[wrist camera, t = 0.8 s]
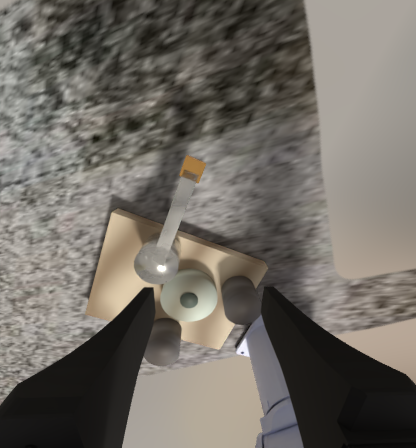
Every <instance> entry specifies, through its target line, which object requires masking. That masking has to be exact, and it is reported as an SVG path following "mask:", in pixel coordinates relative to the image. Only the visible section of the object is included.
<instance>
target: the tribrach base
mask: <svg viewBox="0 0 416 448" xmlns="http://www.w3.org/2000/svg"><path fill="white" fill-rule="evenodd" d="M163 227H164V225H163V224H160V223H157V222H154V221H152V220H149V219H146V218H143V217H141V216H138V215H135V214H132V213H130V212H127V211H124V210H121V209H119V208H117V209H116V210H114V211H113V212H112V213H111V217H110V221H109V225H108V229H107V232H106V236H105V240H104V244H103V248H102V251H101V255H100V259H99V263H98V267H97V271H96V274H95V278H94V282H93V286H92V290H91V293H90V297H89V301H88V305H87V309H86V313H85V314H86V315H89V316H93V317H97V318H101V319H104V320H108V321H112V320H113V319H114V318H115V317H116V316H117V315H118V314H119V313H120V312H121V311H122V310H123V309H124V308H125V307H126V306H127V305H128V304H129V303H130V302H131V301H132V300H133V298H134V297H135V296H136V295H137V294H138V293H139V292H140V291H141V290H142V289H143V288H144V287H154V298H155V310H156V313H155V318H154V323H153V328H152V331H151V334H150V338H149V341H148V344H147V347H146V350H145V353H144V357H145V359H146V360H147V361H148V362H149V363H151V364H153V365H157V366H167V365H170V364H173V363H174V362H175V361H176V360H177V359H178V357H179V352H180V342H181V340H184V341H188V342H192V343H195V344H199V345H203V346H207V347H211V348H214V349H218V350H220V348H221V347H222V345H223V343H224V342H225V340H226V338H227V337H228V335H229V333H230V331H231V330H232V328H233V326H234V325H235V324H239V325H244V324H249V323H252V322H254V321H255V320H256V319H258V318H259V316H260V315H261V306H262V303H261V301H260V298H259V296H258V293H257V291H256V288H257V286H258V285H259V283H260V281H261V280H262V278H263V276H264V275H265V273H266V271H267V270H268V267H267V265H266V263H265V262H264V261H262V260H259V259H256V258H254V257H251V256H248V255H245V254H243V253H240V252H237V251H234V250H232V249H229V248H226V247H223V246H220V245H218V244H215V243H212V242H209V241H207V240H204V239H201V238H198V237H196V236H193V235H190V234H187V233H185V232H182V231H179V230H177V233H176V235H175V238H176V239H177V240H178V241H179V243H180V245H181V257H180V262H179V267H178V272H177V274H176V276H175V277H174V278H173V279H172V280H171V281H169V282H167V283H165V284H159V285H157V284H150V283H147V282H145V281H144V280H142V279H141V278H140V277H139V276H138V275H137V273H136V272H135V269H134V260H135V257H136V256H137V254H138V252H139V251H140V249H141V248H142V246H143V244H144V243H145V241H146V240H147V238H148V237H149V236H151V235H153V234H155V233H161V232H162V229H163Z"/></svg>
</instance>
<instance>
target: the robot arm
mask: <svg viewBox="0 0 416 448" xmlns="http://www.w3.org/2000/svg"><path fill="white" fill-rule="evenodd" d="M155 313H156V310H155V298H154V287H144V288H143V289H142V290H141V291H140V292H139V293H138V294H137V295H136V296H135V297H134V298H133V300H132V301H131V302H130V303H129V304H128V305H127V306H126V307H125V308H124V309H123V310H122V311H121V312H120V313H119V314H118V315H117V316H116V317H115V318H114V319H113V320H112V321H111V322H110V323H109V324H107V325H106V326H105V327H104V328H103V329H102V330H100V331H99V332H98V333H97V334H96V335H94V336H93V337H92V338H91V339H89V340H88V341H86V342H85V343H84V344H82V345H81V346H79V347H78V348H77V349H75V350H74V351H72V352H71V353H69V354H68V355H66V356H65V357H63V358H62V359H60V360H59V361H57V362H56V363H54V364H52V365H51V366H49V367H47V368H46V369H44V370H42V371H40V372H39V373H37V374H35V375H33V376H32V377H30V378H28V379H26V380H24V381H23V382H21V383H19V384H17V386H16V387H15V388H14V389H13V390H12V391H11V393H10V394H9V395H8V396H7V397H6V399H5V400H4V401H3V403H2V404H1V405H0V448H122V444H123V439H124V434H125V429H126V425H127V420H128V415H129V411H130V406H131V402H132V397H133V393H134V388H135V384H136V380H137V376H138V372H139V369H140V365H141V362H142V359H143V356H144V353H145V350H146V347H147V344H148V341H149V338H150V334H151V331H152V328H153V323H154V318H155ZM236 353H237V354H240V355H244V356H248V357H250V360H251V364H252V368H253V372H254V376H255V380H256V384H257V388H258V392H259V396H260V400H261V404H262V408H263V412H264V417H263V418H261V419H260V422H261V426H262V431H263V432H262V433H259V434H258V436H257V441H256V446H255V448H416V385H415V383H414V382H413V381H412V380H411V379H410V378H409V377H408V376H407V375H406V374H404V373H402V372H400V371H398V370H396V369H393V368H391V367H389V366H387V365H385V364H383V363H381V362H379V361H377V360H375V359H373V358H371V357H369V356H367V355H365V354H363V353H362V352H360V351H358V350H356V349H355V348H353V347H351V346H349V345H348V344H346V343H345V342H343V341H341V340H340V339H338V338H336V337H335V336H333V335H332V334H330V333H329V332H328V331H326V330H325V329H323V328H322V327H320V326H319V325H318V324H316V323H315V322H314V321H312V320H311V319H310V318H309V317H307V316H306V315H305V314H304V313H302V312H301V311H300V310H299V309H298V308H296V307H295V306H294V305H293V304H292V303H291V302H290V301H289V300H288V299H286V298H285V297H284V296H283V295H282V294H281V293H280V292H279V291H278V290H277V289H275V288H274V287H264V292H263V299H262V306H261V315H260V316H259V318H258V319H256V320H255V321H254V322H253V323H252V324H251V326H250V328H249V329H248V331H247V332H246V334H245V335H244V337H243V339H242V340H241V342H240V343H239V345H238V346H237V348H236Z"/></svg>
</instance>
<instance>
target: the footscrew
mask: <svg viewBox="0 0 416 448" xmlns="http://www.w3.org/2000/svg"><path fill="white" fill-rule="evenodd" d="M205 166H206V163H205V162H203V161H201V160H198V159H196V158H194V157H191V156H189V155H186V158H185V161H184V163H183V166H182V169H181V172H180V175H179V176H182V177H181V180H180V182H179V185H178V188H177V191H176V193H175V196H174V199H173V202H172V204H171V207H170V210H169V213H168V215H167V218H166V221H165V224H164V227H163V229H162V232H161V233H155V234H153V235H151V236H149V237H148V238H147V240H146V241H145V243H144V244H143V246H142V248H141V249H140V251H139V252H138V254H137V256H136V257H135V260H134V269H135V272H136V273H137V275H138V276H139V277H140V278H141V279H142V280H144V281H145V282H147V283H150V284H157V285H159V284H165V283H167V282H169V281H171V280H172V279H173V278H174V277H175V276H176V274H177V272H178V267H179V262H180V257H181V245H180V243H179V241H178V240H177V239H176V238H175V235H176V233H177V230H178V228H179V225H180V222H181V220H182V217H183V215H184V212H185V210H186V207H187V204H188V202H189V199H190V197H191V194H192V192H193V189H194V187H195V184H196V183H199V181H200V178H201V176H202V173H203V171H204V168H205Z"/></svg>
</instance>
